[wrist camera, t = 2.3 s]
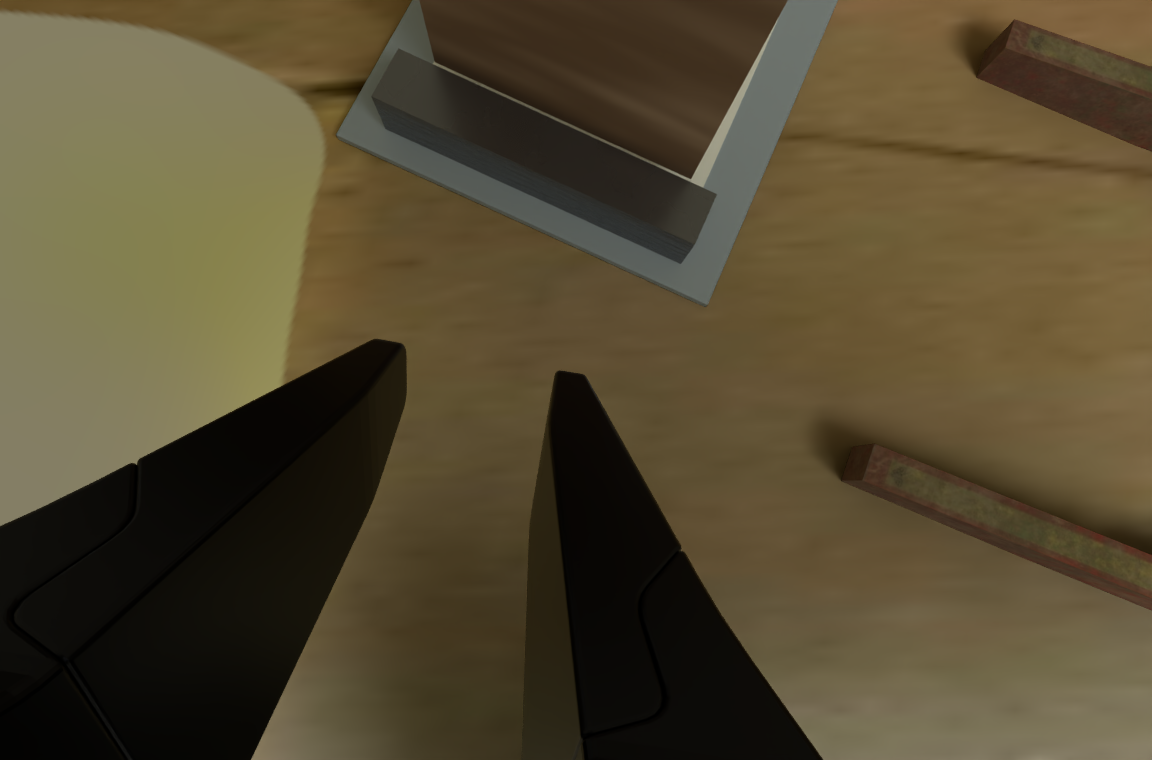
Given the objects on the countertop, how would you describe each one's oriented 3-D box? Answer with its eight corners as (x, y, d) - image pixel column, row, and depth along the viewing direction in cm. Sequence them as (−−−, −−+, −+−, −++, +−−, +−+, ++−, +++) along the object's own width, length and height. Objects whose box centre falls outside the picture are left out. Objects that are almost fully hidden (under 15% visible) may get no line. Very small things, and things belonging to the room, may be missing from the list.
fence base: (680, 264, 22) (694, 244, 20) (385, 129, 22) (371, 96, 20) (701, 217, 23) (717, 194, 21) (410, 84, 23) (398, 48, 21)
